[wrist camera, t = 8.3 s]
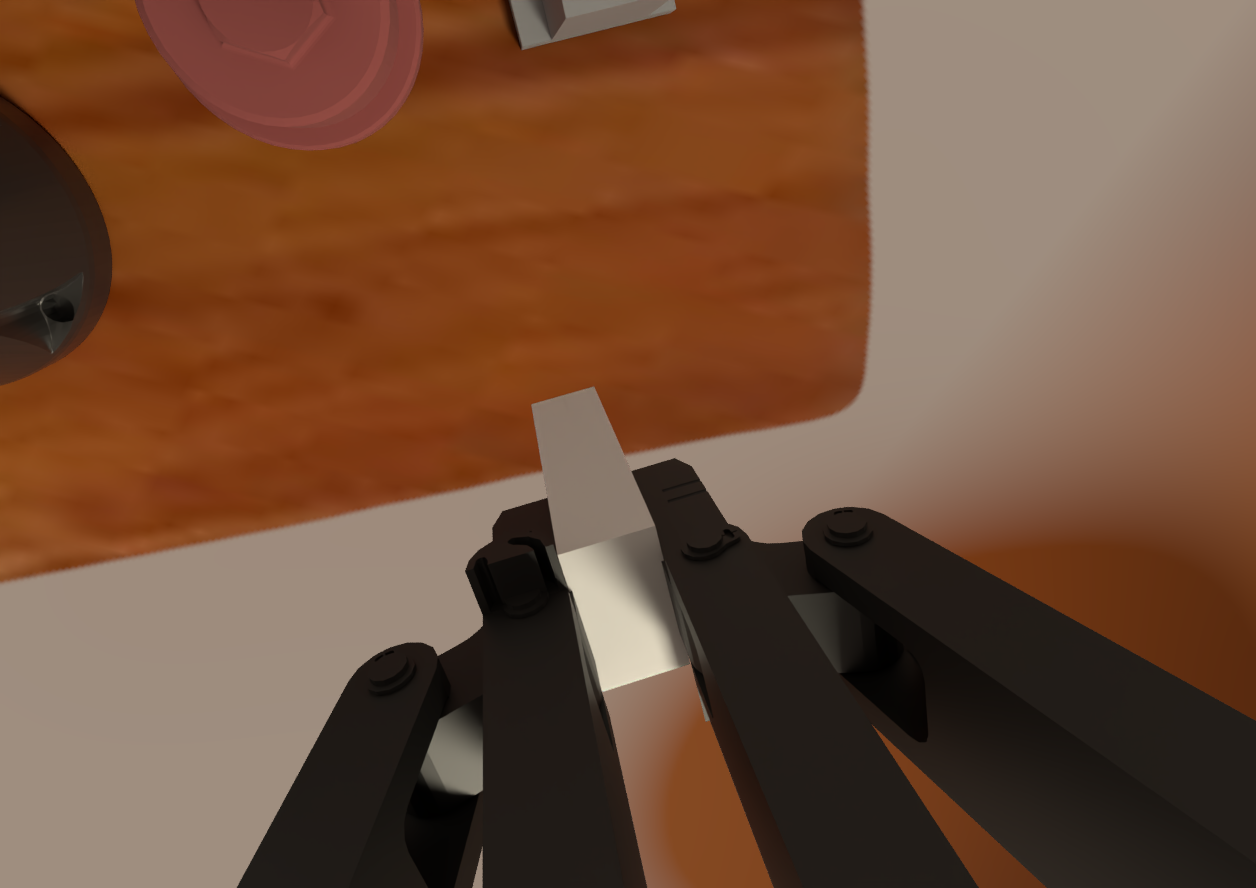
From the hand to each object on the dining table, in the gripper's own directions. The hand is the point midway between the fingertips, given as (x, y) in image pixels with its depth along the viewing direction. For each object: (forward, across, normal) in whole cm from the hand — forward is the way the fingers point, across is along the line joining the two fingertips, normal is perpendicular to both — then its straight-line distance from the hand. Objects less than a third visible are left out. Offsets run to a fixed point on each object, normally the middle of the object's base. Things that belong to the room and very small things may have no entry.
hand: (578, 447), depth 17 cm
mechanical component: (+27, -6, +13) cm, 30 cm away
